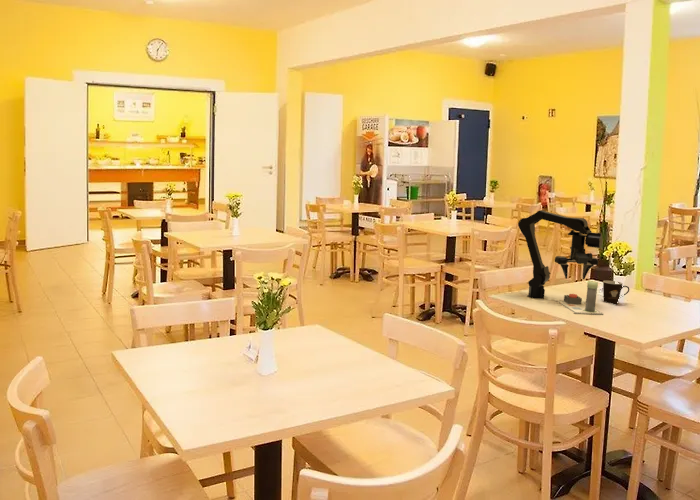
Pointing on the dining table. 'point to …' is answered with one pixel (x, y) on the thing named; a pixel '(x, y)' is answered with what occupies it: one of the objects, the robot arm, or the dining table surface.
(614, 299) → the coffee mug
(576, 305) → the colouring board
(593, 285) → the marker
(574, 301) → the button housing
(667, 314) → the dining table surface
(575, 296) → the button
